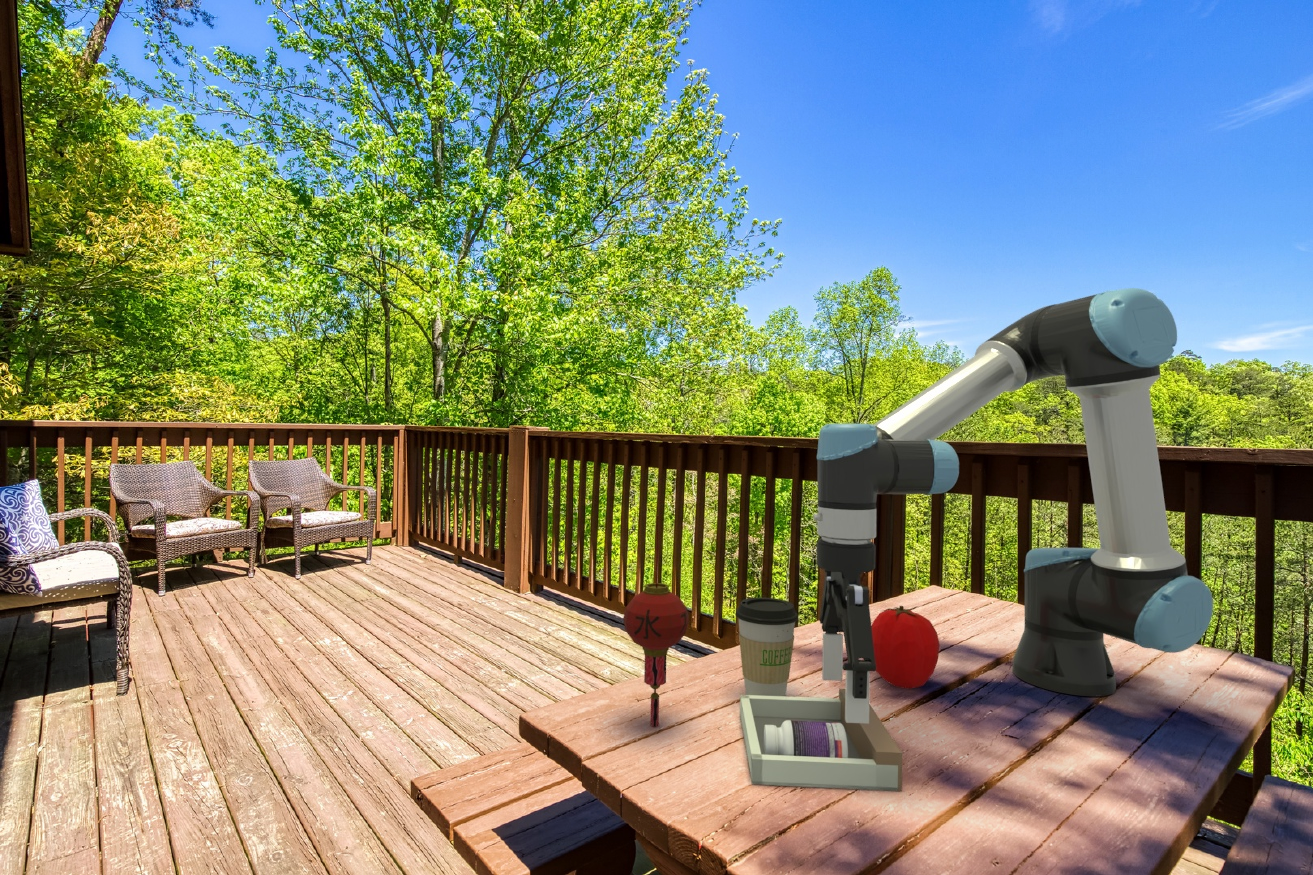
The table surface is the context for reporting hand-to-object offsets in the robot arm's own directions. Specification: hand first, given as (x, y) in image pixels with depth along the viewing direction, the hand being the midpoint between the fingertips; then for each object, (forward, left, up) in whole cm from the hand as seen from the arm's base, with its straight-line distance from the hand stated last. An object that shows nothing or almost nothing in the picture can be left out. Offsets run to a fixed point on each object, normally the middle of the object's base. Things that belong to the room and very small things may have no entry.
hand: (843, 699), depth 83 cm
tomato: (-16, -24, -7) cm, 29 cm away
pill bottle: (+1, +6, -4) cm, 7 cm away
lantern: (+25, -5, -7) cm, 27 cm away
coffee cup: (+8, -16, -7) cm, 19 cm away
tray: (+4, 0, -7) cm, 8 cm away
